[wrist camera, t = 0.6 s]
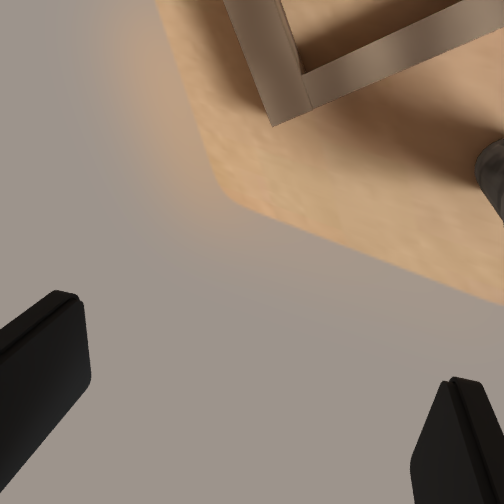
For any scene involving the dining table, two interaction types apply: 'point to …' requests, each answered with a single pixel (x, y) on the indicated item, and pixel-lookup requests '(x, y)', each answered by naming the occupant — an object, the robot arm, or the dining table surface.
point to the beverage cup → (492, 175)
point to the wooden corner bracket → (351, 65)
